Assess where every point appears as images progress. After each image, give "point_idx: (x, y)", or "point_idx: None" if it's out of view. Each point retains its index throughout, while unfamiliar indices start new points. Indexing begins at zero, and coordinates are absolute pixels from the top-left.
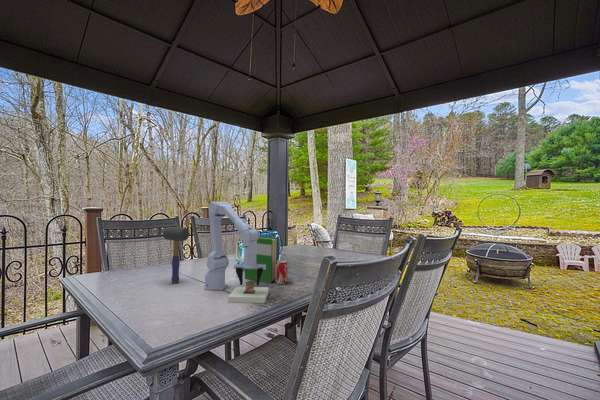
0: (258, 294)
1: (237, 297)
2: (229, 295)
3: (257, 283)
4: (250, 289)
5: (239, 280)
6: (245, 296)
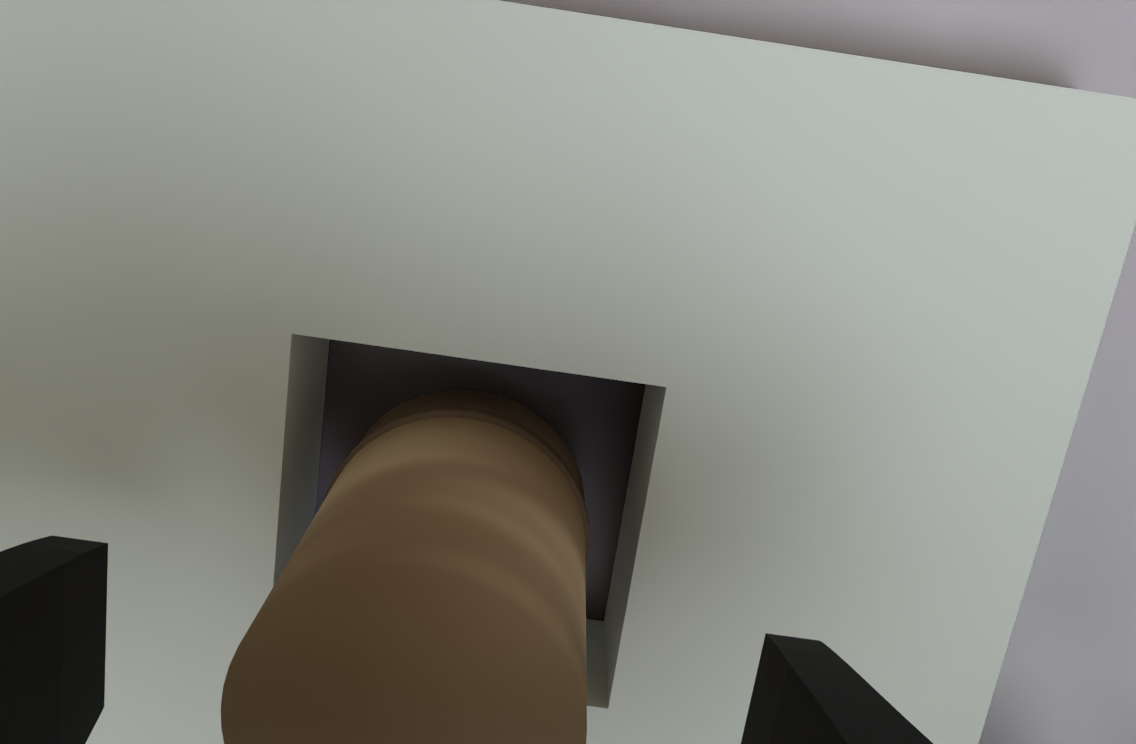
0: (127, 254)
1: (843, 57)
2: (1124, 237)
3: (26, 554)
4: (401, 461)
5: (925, 737)
6: (565, 78)
